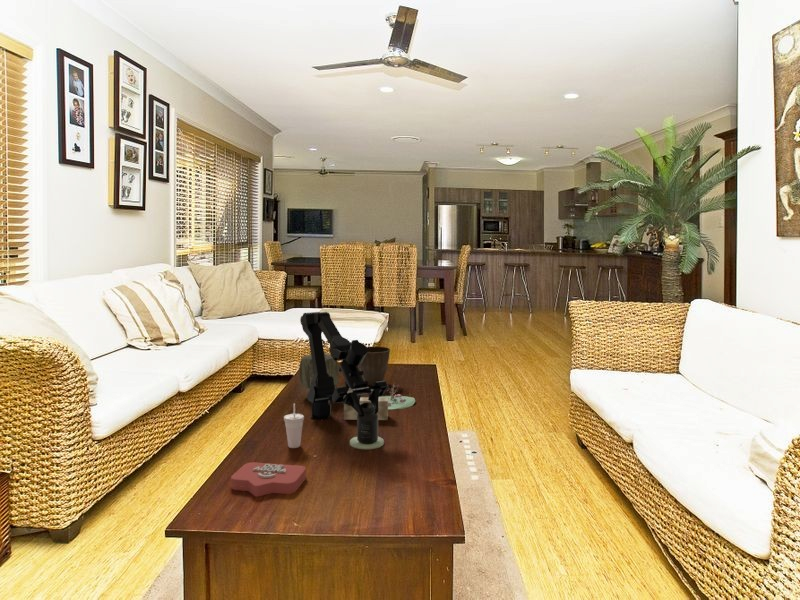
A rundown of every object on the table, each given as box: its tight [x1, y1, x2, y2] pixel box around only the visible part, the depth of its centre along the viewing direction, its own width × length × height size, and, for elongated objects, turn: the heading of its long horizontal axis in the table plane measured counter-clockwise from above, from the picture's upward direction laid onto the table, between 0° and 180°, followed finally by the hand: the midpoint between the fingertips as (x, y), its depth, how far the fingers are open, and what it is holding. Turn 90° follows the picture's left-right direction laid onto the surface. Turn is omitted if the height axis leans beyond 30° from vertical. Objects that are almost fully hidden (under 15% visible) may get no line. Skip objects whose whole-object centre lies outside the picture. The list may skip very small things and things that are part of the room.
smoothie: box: [283, 403, 305, 449], centre depth 183 cm, size 6×6×14 cm
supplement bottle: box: [356, 403, 379, 444], centre depth 185 cm, size 7×7×12 cm
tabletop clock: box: [299, 338, 339, 390], centre depth 240 cm, size 14×9×25 cm, turn 58°
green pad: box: [349, 436, 385, 450], centre depth 187 cm, size 11×11×1 cm
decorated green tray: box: [379, 381, 416, 411], centre depth 234 cm, size 25×21×9 cm
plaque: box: [230, 461, 307, 498], centre depth 155 cm, size 18×4×15 cm
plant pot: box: [359, 346, 391, 387], centre depth 263 cm, size 15×15×16 cm
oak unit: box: [343, 396, 389, 421], centre depth 213 cm, size 16×5×7 cm, turn 90°
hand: (369, 413), depth 184 cm, fingers closed on supplement bottle, 5 cm apart
